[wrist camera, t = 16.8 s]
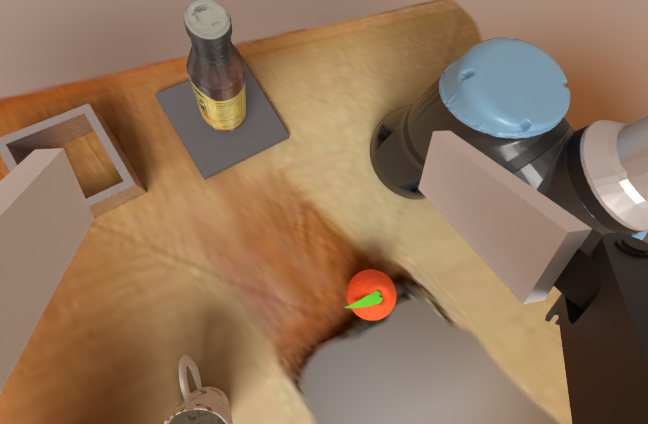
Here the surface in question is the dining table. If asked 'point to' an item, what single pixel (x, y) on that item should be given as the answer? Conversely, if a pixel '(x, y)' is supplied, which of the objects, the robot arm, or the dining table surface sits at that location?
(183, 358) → the mug
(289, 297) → the dining table surface
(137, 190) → the grey shallow open box
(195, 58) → the sauce bottle
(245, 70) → the rubber mat
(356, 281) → the clementine
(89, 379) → the dining table surface
